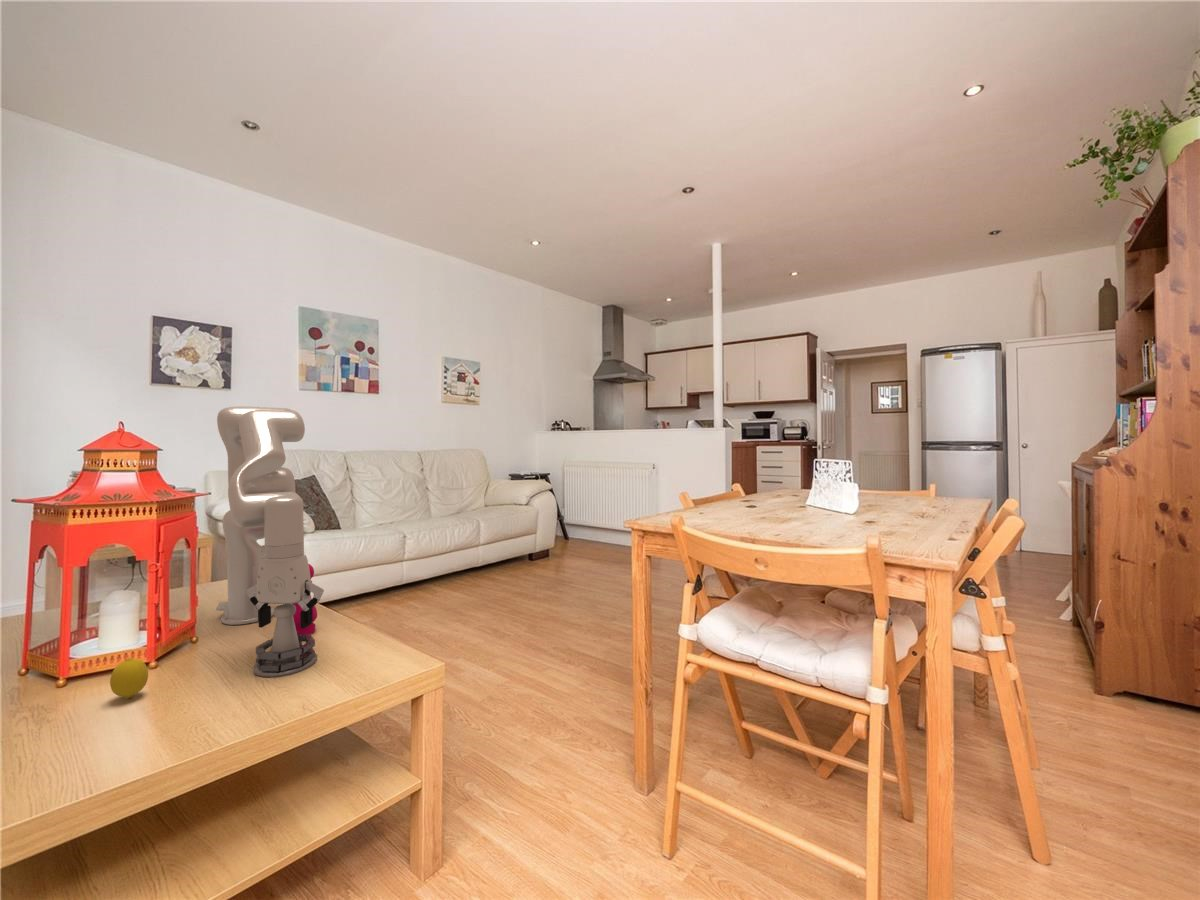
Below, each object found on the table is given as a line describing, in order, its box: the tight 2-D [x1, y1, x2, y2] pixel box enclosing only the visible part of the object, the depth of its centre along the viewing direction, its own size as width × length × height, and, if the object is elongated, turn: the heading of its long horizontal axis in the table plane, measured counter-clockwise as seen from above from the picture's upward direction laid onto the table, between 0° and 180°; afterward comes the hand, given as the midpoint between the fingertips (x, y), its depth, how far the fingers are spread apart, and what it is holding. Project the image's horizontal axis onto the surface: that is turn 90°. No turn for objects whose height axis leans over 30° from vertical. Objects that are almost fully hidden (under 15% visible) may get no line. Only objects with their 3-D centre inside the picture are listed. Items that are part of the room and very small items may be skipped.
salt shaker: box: [270, 604, 300, 664], centre depth 116 cm, size 6×6×13 cm
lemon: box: [109, 657, 149, 699], centre depth 101 cm, size 6×6×8 cm
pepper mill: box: [293, 563, 318, 635], centre depth 134 cm, size 7×7×20 cm
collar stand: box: [252, 634, 318, 679], centre depth 116 cm, size 12×12×5 cm
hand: (285, 625), depth 116 cm, fingers open, 9 cm apart
